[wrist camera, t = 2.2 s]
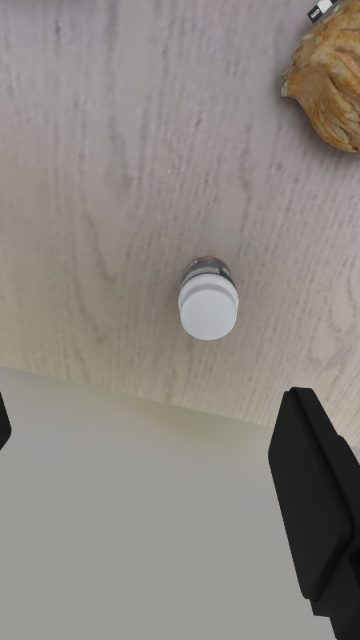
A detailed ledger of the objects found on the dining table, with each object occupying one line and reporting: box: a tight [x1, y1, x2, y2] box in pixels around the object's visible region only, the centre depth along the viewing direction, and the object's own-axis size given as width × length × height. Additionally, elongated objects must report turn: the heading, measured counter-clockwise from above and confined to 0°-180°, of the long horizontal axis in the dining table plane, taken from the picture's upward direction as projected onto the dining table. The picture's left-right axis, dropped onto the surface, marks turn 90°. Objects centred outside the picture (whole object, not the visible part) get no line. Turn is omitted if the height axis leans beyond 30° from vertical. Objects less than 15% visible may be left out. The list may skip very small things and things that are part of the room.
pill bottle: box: [178, 257, 239, 340], centre depth 23 cm, size 5×5×8 cm
